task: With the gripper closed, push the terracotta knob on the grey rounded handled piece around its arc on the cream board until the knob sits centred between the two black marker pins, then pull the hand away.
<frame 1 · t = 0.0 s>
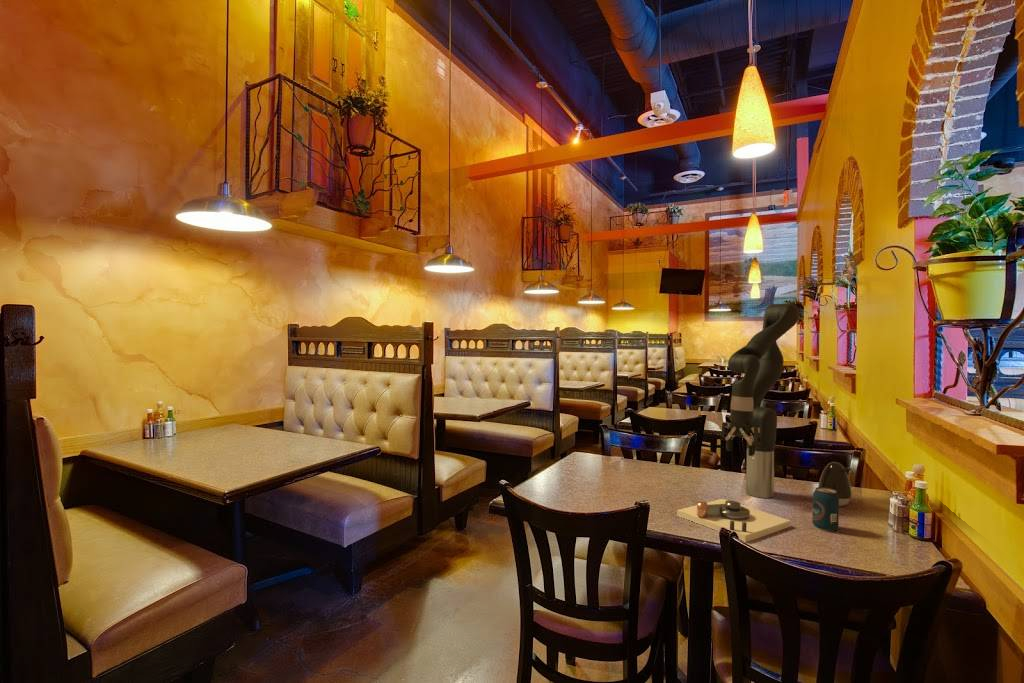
hand: (739, 453, 180), 17 cm above the table, tool pointing down, fingers open, 8 cm apart
soda can: (825, 528, 154), on the table
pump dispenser: (834, 504, 178), on the table
base board: (732, 521, 158), on the table
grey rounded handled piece: (722, 508, 158), point 5 cm above the table, hinge at -60.0°
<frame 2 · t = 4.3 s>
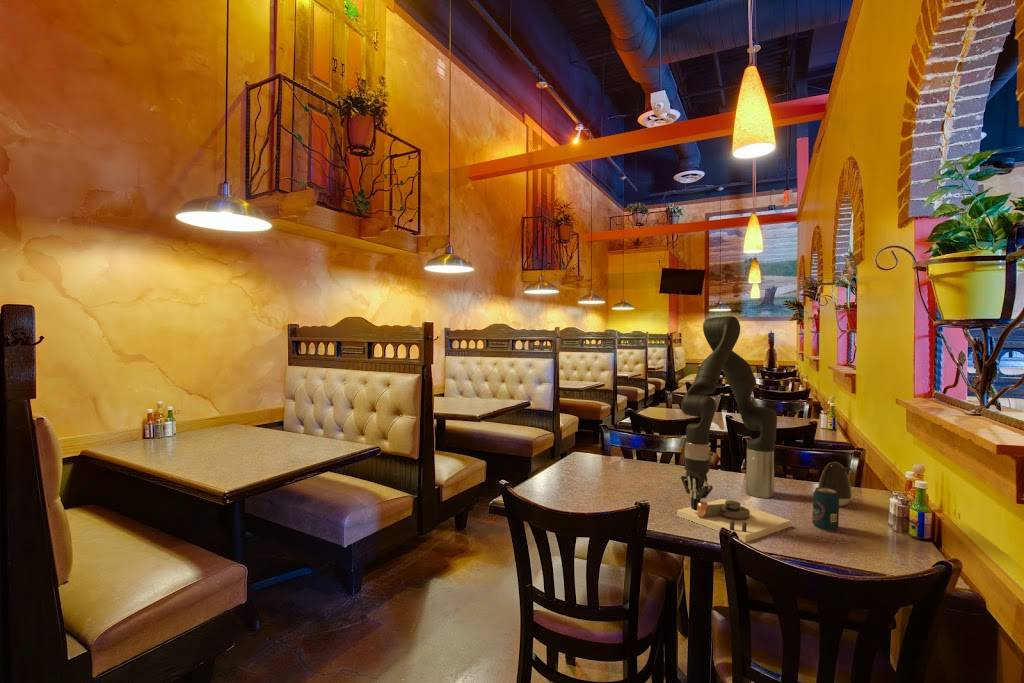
hand: (695, 509, 160), 3 cm above the table, tool pointing down, fingers closed
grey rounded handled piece: (722, 508, 158), point 4 cm above the table, hinge at -59.3°, touching gripper
everything else where it was.
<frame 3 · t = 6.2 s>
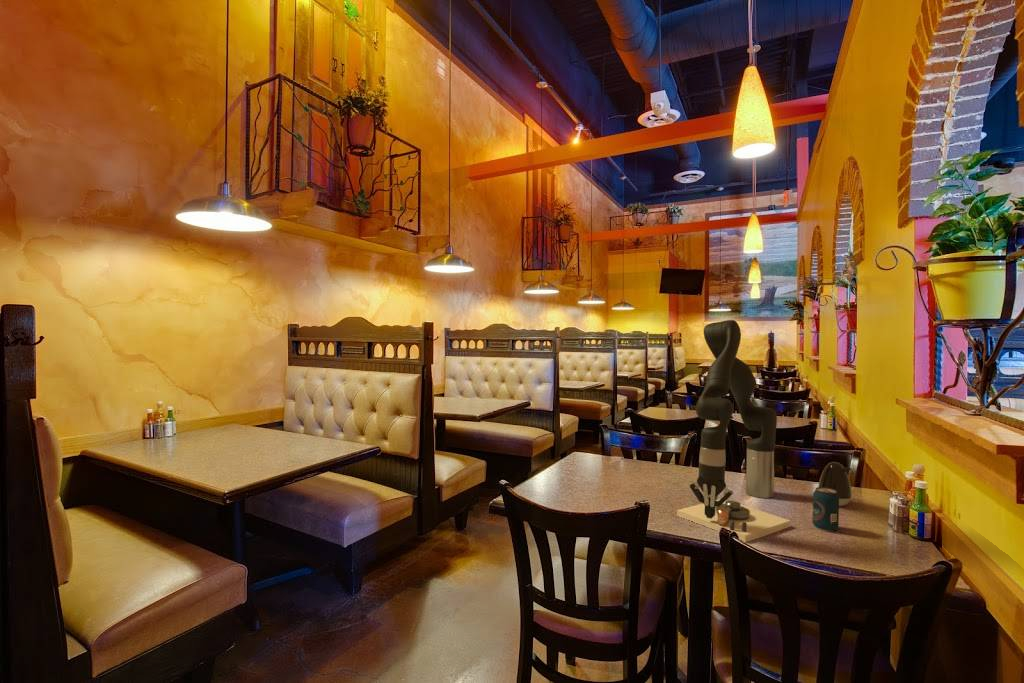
hand: (709, 517, 153), 3 cm above the table, tool pointing down, fingers closed
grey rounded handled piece: (729, 510, 155), point 4 cm above the table, hinge at -20.6°, touching gripper
everything else where it was.
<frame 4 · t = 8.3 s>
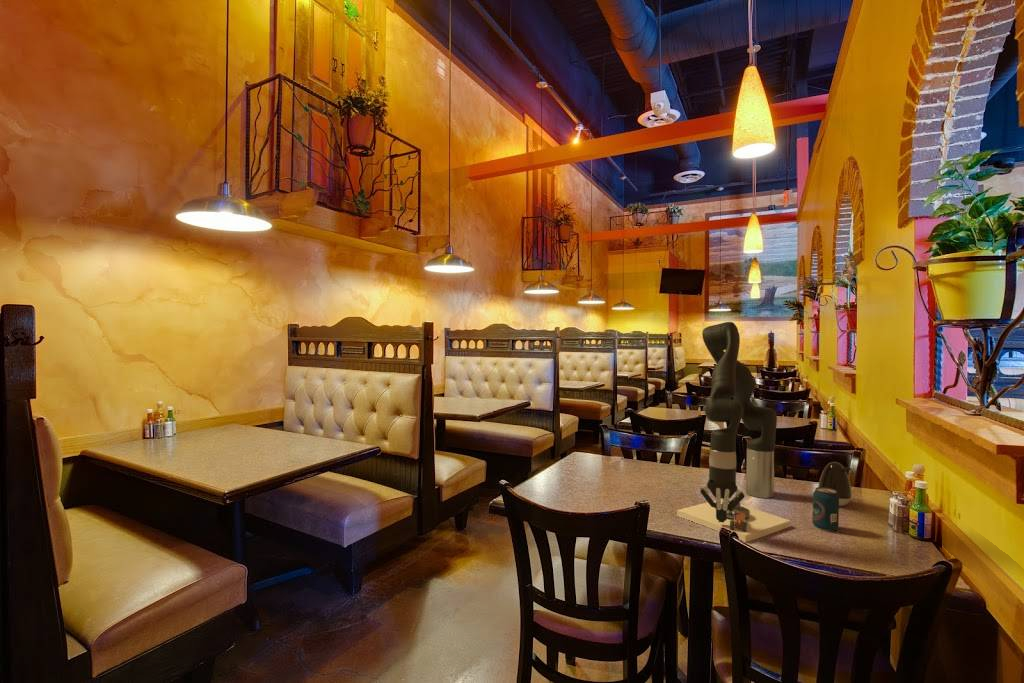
hand: (721, 521, 149), 3 cm above the table, tool pointing down, fingers closed
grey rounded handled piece: (734, 511, 155), point 4 cm above the table, hinge at 3.4°
everything else where it was.
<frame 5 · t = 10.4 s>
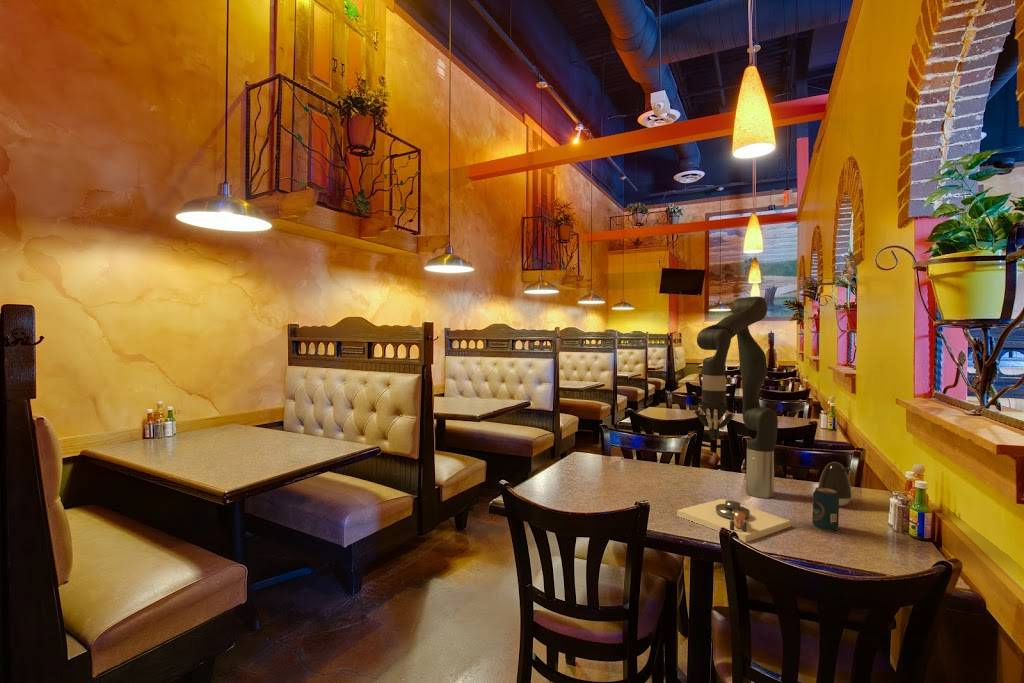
hand: (714, 439, 166), 25 cm above the table, tool pointing down, fingers closed
nothing on the table moved.
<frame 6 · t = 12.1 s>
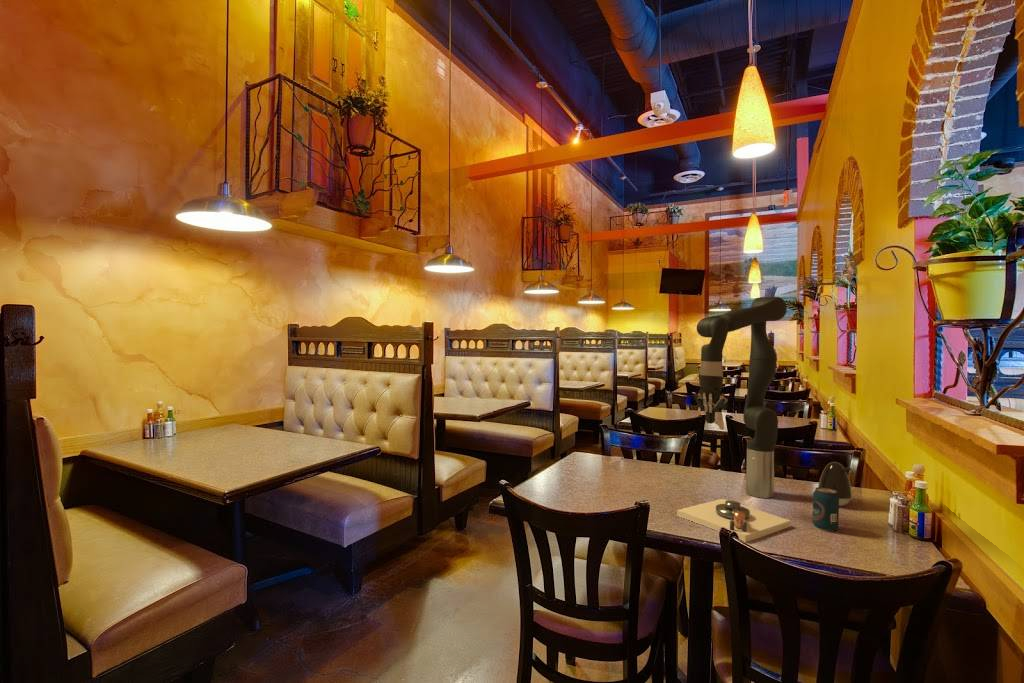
hand: (710, 423, 174), 29 cm above the table, tool pointing down, fingers closed
nothing on the table moved.
at the end: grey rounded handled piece at +3° (first picture: -60°) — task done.
